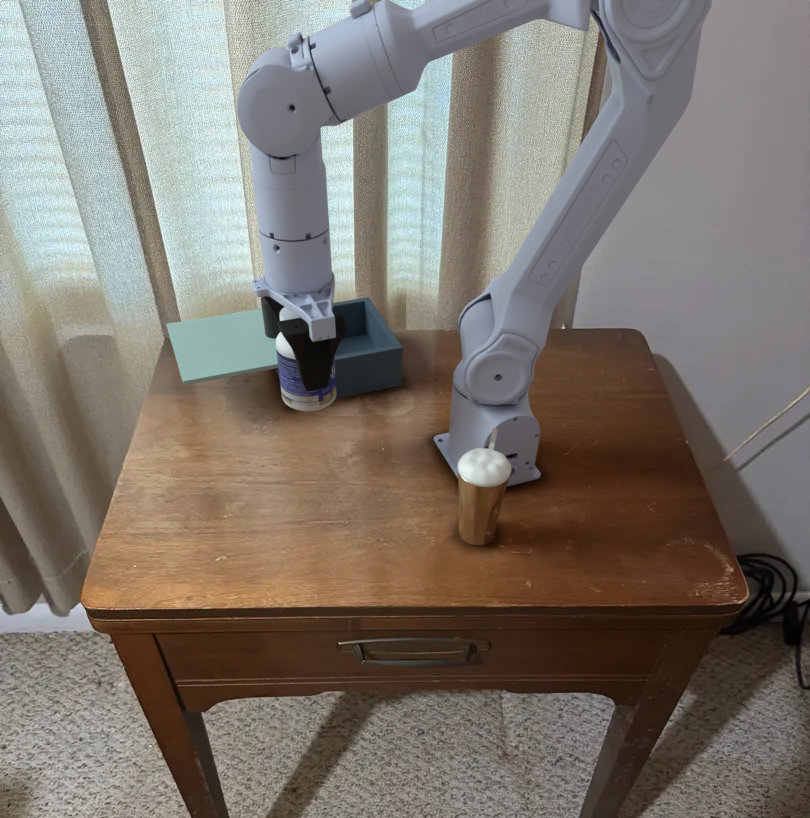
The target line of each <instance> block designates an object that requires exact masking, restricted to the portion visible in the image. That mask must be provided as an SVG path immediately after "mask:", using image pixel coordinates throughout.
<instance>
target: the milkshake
mask: <svg viewBox="0 0 810 818" xmlns="http://www.w3.org/2000/svg"><path fill="white" fill-rule="evenodd" d="M497 431H498V429H497V428H493V429H492V434H491V439H490V444H489V449H485V448H476V449H473V450H471V451H469V452H467V453H466V454H464V455H463V456H462V457H461V459H460V460H459V462H458V466H457V467H458V478H457V483H458V485H457V486H458V534H459V535H460V538H461V539H462V541H463V542H465V543H467V544H469V545H471V546H482V547H483V546H485V545H487V544H489V543H491V542H492V541H493V539H494V537H495V533H496V529H497V525H498V522H499V517H500V514H501V509H502V504H503V500H504V496H505V494H506V491H507V487H508V486H507V484H508V481H509V477H510V474H511V464H510V462H509V461H508V459H507V458H506V457H505V455H503V454H502V453H500V452H497V451H494V447H495V442H496V436H497Z"/></svg>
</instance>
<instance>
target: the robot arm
mask: <svg viewBox="0 0 810 818" xmlns="http://www.w3.org/2000/svg"><path fill="white" fill-rule="evenodd" d="M712 5H713V1H712V0H429V1H427V2H425V3H422V4H421V5H418V6H417V7H415V8H413V9H410V8H406V7H403V6H401V5H399V4H397V3H395V2H393V1H391V0H380V1H377V2H375V3H373V4H371V3H370V0H355V1H352V2H351V3H350V5H349V9H348V11H349V14H350V15H349V16H346V17H345V18H343V19H340V20H338V21H337V22H334V23H332V24H331V25H328V26H326V27H324V28H322V29H320V30H318V31H316V32H314V33H312V34H310V35H308V36H306V37H304V36H303V34H302V32H300V31H298V32H296V33H293V34H291V35H290V36H288V37H287V40H286V46H287V48H288V49H286V48H285V47H281V46H280V47H273V48H271V49H267V50H266V51H264V52H262V53H261V54H260V55H259V56H258V57H257V58H256V59H255V61H254V62H253V64H252V65H251V67H250V69H249V70H248V72H247V75H246V76H245V78H244V80H243V81H242V83H241V85H240V88H239V92H238V95H237V101H236V115H237V120H238V123H239V127H240V129H241V131H242V132H243V135H244V136H245V137H246V139H247V140H248V143H249V145H248V147H249V154H250V157H251V168H250V169H251V170H250V173H251V179H252V188H253V194H254V203H255V211H256V212H255V213H256V219H257V227H258V233H259V241H260V251H261V258H262V266H263V276H262V277H259V278H254V279H253V280H251V281H250V284H251V290H252V292H253V294H254V296H256V297H258V298H261V297H264V298H265V299H266V300H267V302H268V303H269V305H270V306H271V308H272V310H273V313H274V315H275V318H276V321H277V324H278V327H279V330H280V332H281V333H282V335H283V336H284V338H285V339H286V341H287V342H288V344H289V345H290V346H291V348H292V350H293V353H294V356H295V359H296V363H297V366H298V370H299V374H300V377H301V380H302V383H303V385H304V387H305V389H306V391H313V390H318V389H323V388H327V387H328V384H329V380H330V375H331V370H332V365H333V360H334V356H335V353H336V350H337V348H338V346H339V344H340V342H341V340H342V338H343V337H344V335H345V334H346V332H347V321H346V320H345V318H344V317H343V315H336V316H334V314H333V312H332V309H333V303H334V301H335V300H334V299H335V289H336V278H335V277H336V276H335V273H334V272H333V264H332V249H331V248H332V247H331V232H330V216H329V215H330V214H329V201H328V185H327V183H328V182H327V168H326V164H325V162H324V160H323V144H322V131H321V129H322V128H323V127H336V126H339V125H342V124H344V123H346V122H348V121H352V120H353V119H355V118H358V117H360V116H362V115H364V114H366V113H369V112H371V111H373V110H376V109H378V108H380V107H382V106H384V105H386V104H388V103H390V102H394V101H395V100H397V99H399V98H402V97H403V96H406V95H409V94H410V93H413V92H415V91H416V90H417V88H418V87H419V84H420V81H421V79H422V76H423V72H424V70H425V68H426V67H427V65H428V64H429V63H431V62H433V61H436V60H439V59H442V58H444V57H445V56H448V55H451V54H453V53H456V52H458V51H461V50H463V49H466V48H469V47H471V46H473V45H476V44H479V43H480V42H483V41H485V40H488V39H490V38H493V37H496V36H498V35H501V34H504V33H505V32H509V31H511V30H513V29H515V28H518V27H521V26H523V25H525V24H528V23H531V22H533V21H536V20H545V21H548V22H551V23H555V24H559V25H562V26H565V27H569V28H571V29H575V30H577V31H578V30H579V31H582V32H589V29H590V17H592V18H593V20H594V22H595V23H596V24H597V27H598V29H599V31H600V32H601V34H602V37H603V40H604V47H605V53H606V58H607V62H608V67H609V72H610V77H611V81H612V91H611V93H610V95H609V97H608V98H607V100H606V101H605V103H604V105H603V107H602V108H601V110H600V112H599V113H598V115H597V117H596V119H595V120H594V122H593V123H592V125H591V127H590V129H589V130H588V132H587V133H586V135H585V137H584V139H583V141H582V142H581V144H580V146H579V147H578V148H577V150H576V152H575V154H574V156H573V158H572V159H571V161H570V162H569V164H568V165H567V167H566V169H565V171H564V172H563V175H562V176H561V178H560V179H559V181H558V183H557V185H556V187H555V188H554V190H553V191H552V193H551V195H550V196H549V198H548V200H547V201H546V203H545V205H544V206H543V208H542V210H541V211H540V214H539V215H538V216H537V219H536V220H535V222H534V223H533V225H532V227H531V228H530V230H529V232H528V233H527V235H526V237H525V238H524V240H523V242H522V244H521V246H520V247H519V249H518V251H516V254H515V256H514V258H512V261H511V263H510V264H509V266H508V267H507V270H506V271H505V272H503V273H501V274H499V275H498V274H497V275H496V276H494V277H493V278H491V280H490V282H489V284H488V285H487V287H486V289H485V290H484V291H483V292H482V293H481V294H480V295H479V296H477V297H475V298H474V299H473V300H470V302H468V304H466V306H465V307H464V308H463V309H462V311H461V312H460V315H459V318H458V322H457V332H458V336H459V338H460V346H461V360H460V361H459V363H458V364H457V366H456V367H455V369H454V372H453V374H452V386H451V400H450V401H451V402H450V403H451V404H450V415H449V429H448V432H445V433H441V434H437V435H434V437H433V441H434V444H435V445H436V447H437V448H438V451H440V453H441V455H442V456H443V458H444V460H445V461H446V462H447V464H448V465H449V467H450V469H451V470H452V472H453V474H454V475H455V477H456V479H458V467H457V466H458V462H459V460H460V459H461V457H462V456H463V455H464V454H466V453H467V452H469V451H471V450H473V449H476V448H485V449H489V444H490V439H491V434H492V429H493V428H497V429H498V431H497V436H496V442H495V447H494V451H497V452H500V453H502V454H503V455H505V457H506V458H507V459H508V461H509V462H510V464H511V474H510V477H509V481H508V484H507V487H511V486H514V485H519V484H524V483H526V482H531V481H535V480H539V479H540V478H541V474H542V473H541V472H540V470H539V469H538V468H537V466H536V461H537V456H538V449H539V444H540V439H541V427H540V423H539V422H538V420H537V418H536V416H535V415H534V413H533V411H532V408H531V406H530V398H529V388H530V387H531V384H532V383H533V380H534V377H535V367H536V366H535V365H536V362H537V361H538V358H539V357H540V354H541V353H542V352H543V351H544V349H545V347H546V343H547V339H548V335H549V329H550V325H551V320H552V317H553V312H554V310H555V309H556V307H557V305H558V304H559V302H560V301H561V299H562V298H563V297H564V295H565V293H566V292H567V290H568V289H569V287H570V286H571V284H572V283H573V281H574V279H575V278H576V276H578V274H579V272H580V270H581V269H582V267H583V266H584V264H585V263H586V262H587V260H588V258H590V256H591V254H592V253H593V251H594V249H595V248H596V247H597V245H598V243H599V242H600V240H601V239H602V237H603V236H604V234H605V233H606V231H607V230H608V229H609V227H610V225H611V224H612V222H613V221H614V220H615V219H616V216H617V215H618V213H619V212H620V211H621V209H622V207H623V205H624V204H625V202H626V201H627V200H628V198H629V197H630V195H631V194H632V192H633V190H634V189H635V187H636V186H637V185H638V183H639V182H640V181H641V179H642V177H643V175H644V174H645V173H646V171H647V170H648V168H649V167H650V165H651V164H652V162H653V160H654V159H655V157H656V156H657V155H658V153H659V151H660V150H661V148H662V147H663V146H664V144H665V143H666V141H667V139H668V138H669V136H670V135H671V133H672V132H673V131H674V129H675V128H676V126H677V124H678V123H679V121H680V120H681V118H682V117H683V115H684V113H685V112H686V110H687V108H688V106H689V104H690V103H691V99H692V95H693V90H694V83H695V76H696V69H697V64H698V57H699V50H700V43H701V39H702V38H701V37H702V31H703V25H704V23H705V21H706V19H707V17H708V14H709V12H710V10H711V9H712ZM284 307H286V308H287V309H289V310H290V311H292V312H293V313H295V314H296V315H298V316H299V317H301V319H300V318H295V319H289V320H284V321H280V311H281V310H282V309H283V308H284Z"/></svg>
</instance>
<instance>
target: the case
mask: <svg viewBox="0 0 810 818" xmlns="http://www.w3.org/2000/svg"><path fill="white" fill-rule="evenodd" d="M332 312H333V314H334V316H336V315H343V317H344V318H345V320H346V321H347V332H346V334H345V335H344V337H343V338H342V340H341V342H340V344H339V346H338V348H337V350H336V353H335V356H334V359H335V377H336V398H335V400H336V399H341V398H347V397H351V396H357V395H361V394H362V395H363V394H368V393H371V392H376V391H381V390H382V391H383V390H386V389H387V390H388V389H392V388H397V387H401V386H403V374H404V373H403V371H404V369H403V366H404V364H403V363H404V347H403V345H402V344H401V343H400V342H401V341H399V339H398V338H397V337H396V335H395V334H394V332H393V331H392V329H391V327H390V326H389V325H388V323H387V321H386V320H385V318H383V315H382V314H381V313H380V311H379V310H378V308H377V307H376V305H375V304H374V302H373V301H372V300H371V299H370V297H369V296H368V297H360V298H355V299H349V300H344V301H336V302H333V309H332ZM274 370H275V373H276V374H277V377H278V379H279V380H280V377H279V368H275V369H274Z"/></svg>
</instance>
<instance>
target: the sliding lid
mask: <svg viewBox="0 0 810 818" xmlns="http://www.w3.org/2000/svg"><path fill="white" fill-rule="evenodd" d="M260 305H261V308H255V309H248V310H242V311H236V312H232V313H224V314H218V315H213V316H206V317H200V318H193V319H187V320H182V321H176V322H175V321H174V322H169V323H166V324H165V325H166V328H167V332H168V336H169V339H170V342H171V346H172V349H173V353H174V356H175V360H176V363H177V367H178V370H179V373H180V377H181V381H182V384H183V386H188V385H193V384H199V383H203V382H210V381H214V380H215V381H216V380H221V379H225V378H230V377H235V376H236V377H237V376H243V375H247V374H252V373H258V372H262V371H268V370H269V371H270V370H273V369H274V370H275V368H278V361H277V353H276V338H277V336H278V334H279V333H280V330H279V327H278V324H277V321H276V318H275V315H274V313H273V310H272V308H271V306H270V305H269V303H268V302H267V300H266V299H265V298H264V297H260Z"/></svg>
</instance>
